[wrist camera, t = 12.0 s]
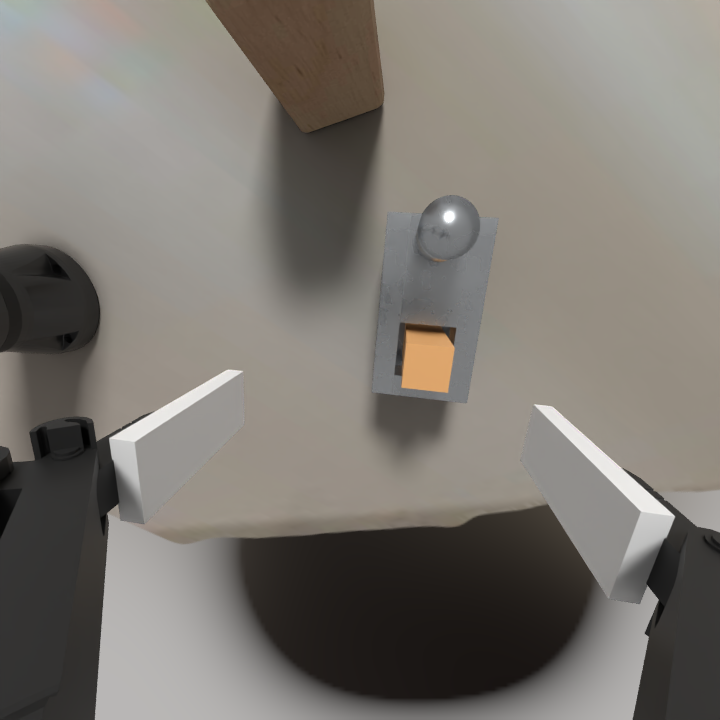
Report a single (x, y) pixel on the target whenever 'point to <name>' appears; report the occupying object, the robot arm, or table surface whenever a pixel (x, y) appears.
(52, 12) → the table surface
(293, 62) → the wooden block
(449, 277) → the grey slotted stand
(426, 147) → the table surface
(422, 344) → the orange square bar
